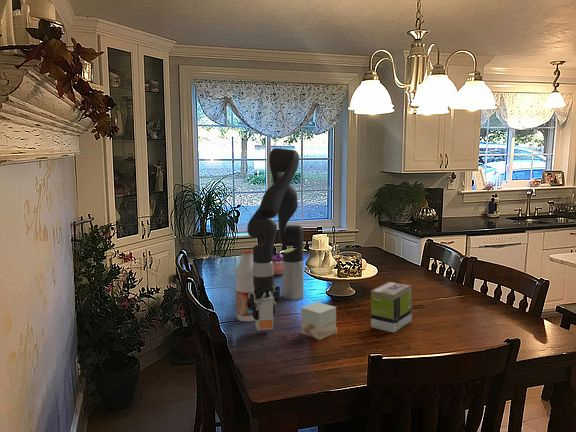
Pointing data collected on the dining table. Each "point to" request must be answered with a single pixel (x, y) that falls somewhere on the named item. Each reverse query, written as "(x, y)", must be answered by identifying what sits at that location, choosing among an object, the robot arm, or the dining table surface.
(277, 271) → the cell model
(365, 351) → the dining table surface
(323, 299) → the dining table surface
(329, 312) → the upper block
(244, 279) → the fruit juice
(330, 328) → the lower block
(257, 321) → the skincare box
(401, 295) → the tea box
